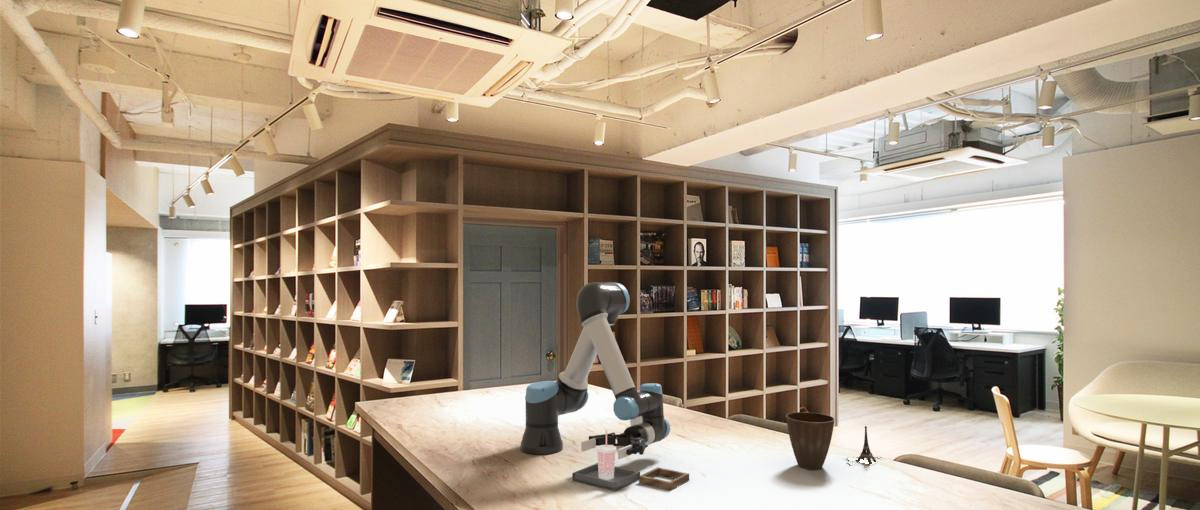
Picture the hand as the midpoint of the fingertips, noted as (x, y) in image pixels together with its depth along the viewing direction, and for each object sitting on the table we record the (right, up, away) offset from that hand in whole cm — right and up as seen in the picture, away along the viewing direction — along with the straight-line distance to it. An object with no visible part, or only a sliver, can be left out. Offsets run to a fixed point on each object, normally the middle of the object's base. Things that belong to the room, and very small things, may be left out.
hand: (600, 450), depth 186 cm
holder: (+19, -10, +1) cm, 22 cm away
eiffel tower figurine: (+89, -11, +21) cm, 92 cm away
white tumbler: (+14, -12, +48) cm, 52 cm away
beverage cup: (+2, -9, +2) cm, 9 cm away
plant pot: (+68, -10, +16) cm, 71 cm away
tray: (+2, -10, +2) cm, 10 cm away
